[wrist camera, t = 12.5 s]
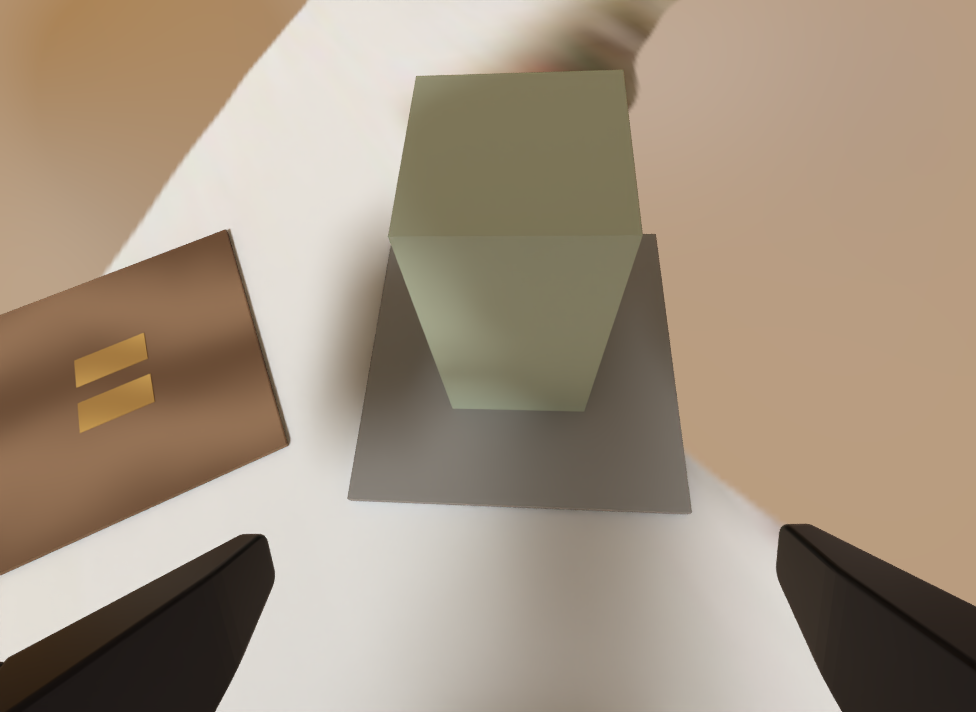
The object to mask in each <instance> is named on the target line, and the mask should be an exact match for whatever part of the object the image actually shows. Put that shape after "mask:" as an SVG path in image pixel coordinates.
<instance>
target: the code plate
mask: <svg viewBox="0 0 976 712" xmlns="http://www.w3.org/2000/svg"><path fill="white" fill-rule="evenodd" d="M287 446H288V443H287V439H286V436H285V432H284V429H283V425H282V422H281V418H280V415H279V411H278V408H277V404H276V401H275V397H274V394H273V390H272V387H271V383H270V380H269V376H268V372H267V369H266V365H265V362H264V358H263V355H262V351H261V348H260V344H259V341H258V337H257V334H256V330H255V327H254V323H253V320H252V316H251V313H250V309H249V306H248V302H247V299H246V295H245V292H244V288H243V284H242V281H241V277H240V274H239V270H238V267H237V263H236V260H235V256H234V253H233V249H232V246H231V242H230V239H229V235H228V232H227V231H226V230H223V231H220V232H217V233H215V234H212V235H210V236H207V237H204V238H202V239H199V240H196V241H194V242H191V243H189V244H186V245H183V246H181V247H178V248H175V249H173V250H170V251H167V252H165V253H162V254H160V255H157V256H154V257H152V258H149V259H146V260H144V261H141V262H139V263H136V264H133V265H131V266H128V267H125V268H123V269H120V270H118V271H115V272H112V273H110V274H107V275H104V276H102V277H99V278H96V279H94V280H92V281H89V282H86V283H83V284H81V285H78V286H75V287H73V288H70V289H68V290H65V291H63V292H60V293H57V294H54V295H52V296H49V297H47V298H44V299H41V300H39V301H36V302H34V303H31V304H28V305H26V306H23V307H20V308H18V309H15V310H12V311H10V312H7V313H5V314H2V315H0V575H2V574H5V573H7V572H9V571H11V570H13V569H16V568H18V567H20V566H22V565H25V564H27V563H29V562H31V561H33V560H36V559H38V558H40V557H42V556H44V555H47V554H49V553H51V552H53V551H56V550H58V549H60V548H62V547H64V546H67V545H69V544H71V543H73V542H76V541H78V540H80V539H82V538H84V537H87V536H89V535H91V534H93V533H96V532H98V531H100V530H102V529H104V528H107V527H109V526H111V525H113V524H116V523H118V522H120V521H122V520H124V519H127V518H129V517H131V516H133V515H136V514H138V513H140V512H142V511H144V510H147V509H149V508H151V507H153V506H156V505H158V504H160V503H162V502H164V501H167V500H169V499H171V498H173V497H175V496H178V495H180V494H182V493H184V492H187V491H189V490H191V489H193V488H195V487H198V486H200V485H202V484H204V483H207V482H209V481H211V480H213V479H215V478H218V477H220V476H222V475H224V474H227V473H229V472H231V471H233V470H235V469H238V468H240V467H242V466H244V465H247V464H249V463H251V462H253V461H255V460H258V459H260V458H262V457H264V456H267V455H269V454H271V453H273V452H275V451H278V450H280V449H282V448H284V447H287Z"/></svg>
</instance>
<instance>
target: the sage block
mask: <svg viewBox="0 0 976 712" xmlns="http://www.w3.org/2000/svg"><path fill="white" fill-rule="evenodd" d="M642 236H643V234H642V225H641V216H640V208H639V199H638V191H637V182H636V174H635V165H634V157H633V148H632V140H631V131H630V122H629V114H628V105H627V97H626V88H625V80H624V71H623V70H596V71H564V72H532V73H500V74H468V75H436V76H416V80H415V86H414V91H413V97H412V103H411V108H410V114H409V120H408V126H407V131H406V137H405V143H404V148H403V154H402V160H401V166H400V171H399V177H398V183H397V188H396V194H395V200H394V206H393V211H392V217H391V223H390V228H389V234H388V238H389V240H390V243H391V246H392V248H393V251H394V254H395V256H396V259H397V262H398V264H399V267H400V270H401V272H402V275H403V278H404V280H405V283H406V286H407V288H408V291H409V294H410V296H411V299H412V302H413V304H414V307H415V310H416V312H417V315H418V318H419V320H420V323H421V326H422V328H423V331H424V334H425V336H426V339H427V342H428V344H429V347H430V350H431V352H432V355H433V358H434V360H435V363H436V366H437V368H438V371H439V374H440V376H441V379H442V382H443V384H444V387H445V390H446V392H447V395H448V398H449V400H450V403H451V406H452V408H453V409H493V410H536V411H579V412H584V411H585V408H586V405H587V402H588V399H589V396H590V393H591V390H592V387H593V384H594V380H595V377H596V374H597V371H598V368H599V365H600V362H601V359H602V356H603V353H604V350H605V347H606V344H607V341H608V338H609V335H610V332H611V329H612V326H613V323H614V320H615V317H616V314H617V311H618V308H619V305H620V302H621V299H622V296H623V293H624V290H625V287H626V284H627V281H628V278H629V275H630V272H631V269H632V266H633V263H634V260H635V257H636V254H637V251H638V248H639V245H640V242H641V239H642Z"/></svg>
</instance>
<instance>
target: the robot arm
mask: <svg viewBox="0 0 976 712" xmlns="http://www.w3.org/2000/svg"><path fill="white" fill-rule="evenodd" d="M776 572H777V577H778V580H779V583H780V585H781V587H782V590H783V592H784V594H785V596H786V598H787V601H788V603H789V605H790V607H791V609H792V612H793V614H794V616H795V618H796V621H797V623H798V625H799V627H800V629H801V632H802V634H803V636H804V638H805V640H806V643H807V645H808V647H809V649H810V652H811V654H812V656H813V658H814V660H815V662H816V665H817V667H818V669H819V671H820V673H821V675H822V677H823V679H824V681H825V682H826V684H827V686H828V688H829V690H830V692H831V693H832V695H833V697H834V699H835V700H836V702H837V704H838V706H839V707H840V709H841V711H842V712H976V606H974V605H972V604H970V603H967V602H966V601H964V600H961V599H960V598H958V597H956V596H953V595H952V594H950V593H948V592H946V591H944V590H942V589H939V588H938V587H936V586H934V585H931V584H929V583H927V582H925V581H923V580H921V579H919V578H917V577H915V576H913V575H911V574H909V573H907V572H905V571H903V570H901V569H899V568H897V567H895V566H893V565H891V564H889V563H887V562H885V561H883V560H881V559H879V558H877V557H875V556H873V555H871V554H869V553H867V552H865V551H863V550H861V549H859V548H857V547H855V546H853V545H851V544H849V543H847V542H844V541H843V540H841V539H839V538H837V537H835V536H833V535H831V534H829V533H827V532H825V531H823V530H821V529H819V528H817V527H815V526H813V525H810V524H785V525H783V526H782V527H781V529H780V532H779V539H778V550H777V561H776ZM274 580H275V570H274V566H273V561H272V557H271V553H270V549H269V544H268V541H267V538H266V537H265V536H264V535H262V534H242V535H239V536H237V537H235V538H233V539H231V540H230V541H228V542H226V543H224V544H222V545H220V546H218V547H216V548H214V549H213V550H211V551H209V552H207V553H205V554H203V555H201V556H199V557H197V558H196V559H194V560H192V561H190V562H188V563H186V564H184V565H182V566H180V567H179V568H177V569H175V570H173V571H171V572H169V573H167V574H165V575H163V576H162V577H160V578H158V579H156V580H154V581H152V582H150V583H148V584H146V585H145V586H143V587H141V588H139V589H137V590H135V591H133V592H131V593H129V594H128V595H126V596H124V597H122V598H120V599H118V600H116V601H114V602H112V603H110V604H109V605H107V606H105V607H103V608H101V609H99V610H97V611H95V612H93V613H92V614H90V615H88V616H86V617H84V618H82V619H80V620H78V621H76V622H75V623H73V624H71V625H69V626H67V627H65V628H63V629H61V630H59V631H58V632H56V633H54V634H52V635H50V636H48V637H46V638H44V639H42V640H41V641H39V642H37V643H35V644H33V645H31V646H29V647H27V648H25V649H24V650H22V651H20V652H18V653H16V654H14V655H12V656H10V657H8V658H7V659H6V660H5V662H0V712H215V711H216V709H217V707H218V705H219V703H220V702H221V700H222V698H223V696H224V694H225V692H226V690H227V688H228V687H229V685H230V683H231V681H232V679H233V677H234V675H235V673H236V671H237V669H238V667H239V664H240V662H241V660H242V658H243V656H244V653H245V651H246V649H247V646H248V644H249V642H250V639H251V637H252V634H253V632H254V630H255V627H256V625H257V623H258V620H259V618H260V616H261V613H262V611H263V608H264V606H265V604H266V601H267V599H268V597H269V594H270V592H271V590H272V587H273V584H274Z"/></svg>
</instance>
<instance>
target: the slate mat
mask: <svg viewBox="0 0 976 712" xmlns="http://www.w3.org/2000/svg"><path fill="white" fill-rule="evenodd" d="M347 499H349V500H351V501H373V502H398V503H422V504H447V505H471V506H496V507H520V508H545V509H569V510H594V511H618V512H643V513H667V514H690V513H692V510H691V502H690V494H689V487H688V479H687V471H686V464H685V456H684V448H683V440H682V434H681V426H680V417H679V410H678V402H677V394H676V387H675V379H674V371H673V363H672V357H671V348H670V340H669V332H668V325H667V317H666V309H665V302H664V294H663V286H662V278H661V271H660V263H659V255H658V248H657V240H656V234H643V236H642V239H641V242H640V245H639V248H638V251H637V254H636V257H635V260H634V263H633V266H632V269H631V272H630V275H629V278H628V281H627V284H626V287H625V290H624V293H623V296H622V299H621V302H620V305H619V308H618V311H617V314H616V317H615V320H614V323H613V326H612V329H611V332H610V335H609V338H608V341H607V344H606V347H605V350H604V353H603V356H602V359H601V362H600V365H599V368H598V371H597V374H596V377H595V380H594V384H593V387H592V390H591V393H590V396H589V399H588V402H587V405H586V408H585V411H584V412H579V411H536V410H493V409H453V408H452V406H451V403H450V400H449V398H448V395H447V392H446V390H445V387H444V384H443V382H442V379H441V376H440V374H439V371H438V368H437V366H436V363H435V360H434V358H433V355H432V352H431V350H430V347H429V344H428V342H427V339H426V336H425V334H424V331H423V328H422V326H421V323H420V320H419V318H418V315H417V312H416V310H415V307H414V304H413V302H412V299H411V296H410V294H409V291H408V288H407V286H406V283H405V280H404V278H403V275H402V272H401V270H400V267H399V264H398V262H397V259H396V256H395V254H394V251H393V248H392V246H391V248H390V254H389V259H388V265H387V271H386V277H385V283H384V289H383V294H382V300H381V306H380V312H379V318H378V323H377V329H376V335H375V341H374V347H373V352H372V358H371V364H370V370H369V376H368V381H367V387H366V393H365V399H364V405H363V410H362V416H361V422H360V428H359V434H358V439H357V445H356V451H355V457H354V463H353V468H352V474H351V480H350V486H349V492H348V497H347Z"/></svg>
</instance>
